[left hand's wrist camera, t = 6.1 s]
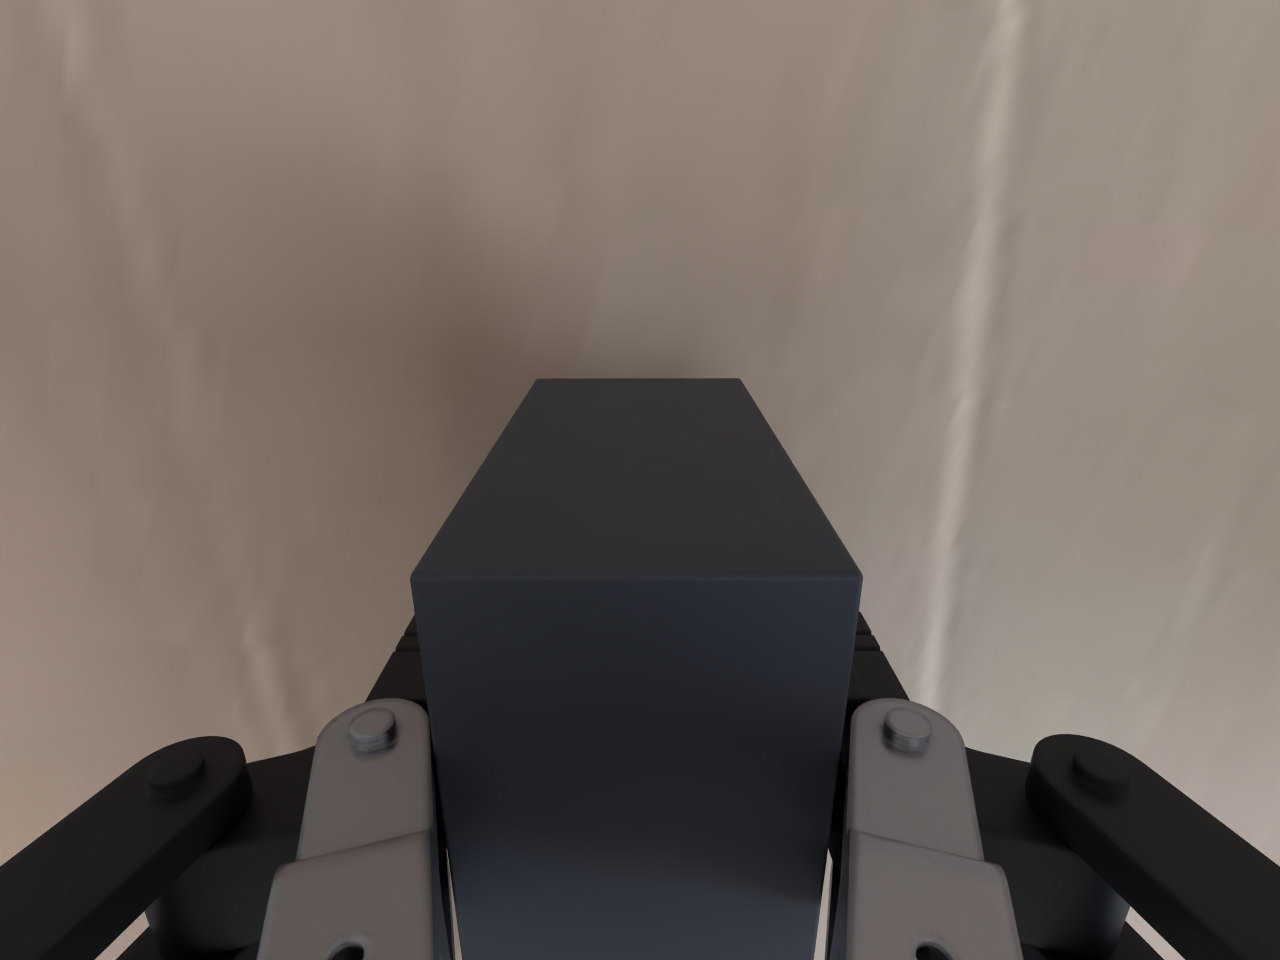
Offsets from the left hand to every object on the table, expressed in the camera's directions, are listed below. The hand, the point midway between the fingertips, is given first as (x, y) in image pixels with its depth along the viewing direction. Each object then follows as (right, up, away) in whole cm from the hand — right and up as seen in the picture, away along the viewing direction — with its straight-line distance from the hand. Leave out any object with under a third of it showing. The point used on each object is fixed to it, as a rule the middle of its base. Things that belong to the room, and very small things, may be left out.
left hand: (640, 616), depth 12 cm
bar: (0, -7, +7) cm, 10 cm away
